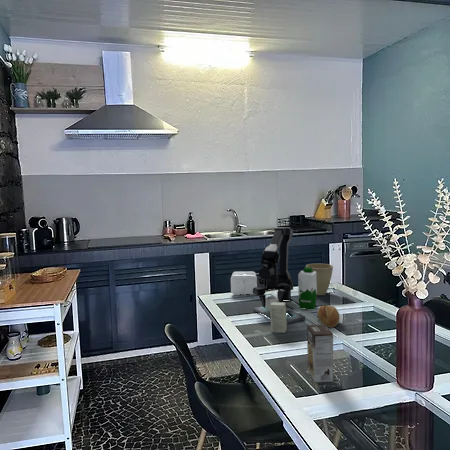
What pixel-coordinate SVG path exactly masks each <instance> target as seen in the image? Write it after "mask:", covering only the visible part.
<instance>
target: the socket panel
mask: <svg viewBox="0 0 450 450" xmlns="http://www.w3.org/2000/svg"><path fill="white" fill-rule="evenodd" d="M253 311H254V312H255V313H257V312H258V313H257V314H259V313H261V314H264V315H266V316H267V317H269V318H270V319H271V315H270V311H268V310H267V309H266V305H265V308H264V307H263V305H262V306H257V307H253ZM286 313H288V314H289V315H290V316H291V317H289V316H286V319H287V324H292V323H296V322H297V323H298V322H302V321H306V316H305V315H302V314H301V313H298V312H296V311H294V310H292V309H290V308H288V307H286ZM261 314H260V315H261ZM270 319H269V320H270Z"/></svg>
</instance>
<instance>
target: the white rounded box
mask: <svg viewBox="0 0 450 450" xmlns="http://www.w3.org/2000/svg"><path fill="white" fill-rule="evenodd" d="M257 279H258V277H257V274H256V272H255V271H233V272H232V274H231V277H230V293H231V294H232V295H235V296H241V295H246V294H250V295H249V296H253V295H255V294H254V293H253V288H254V287H258V285H257ZM240 294H241V295H240Z"/></svg>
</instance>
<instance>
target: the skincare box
mask: <svg viewBox="0 0 450 450" xmlns="http://www.w3.org/2000/svg"><path fill="white" fill-rule="evenodd" d="M286 308H287V303H286V302H279V301H278V302H272V303H271V304H270V315H271V320H270V329H271V331H270V332H272V333H287V330H288V323H287V319H286V318H287V316H286Z"/></svg>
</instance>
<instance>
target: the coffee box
mask: <svg viewBox="0 0 450 450" xmlns="http://www.w3.org/2000/svg"><path fill="white" fill-rule="evenodd" d="M306 336H307V339H306V340H307V341H306V342H307V343H306V344H307V346H306V347H307V371H308V373H309V374H310V376H311V378H312V380H313V382H314V383H327V382H329V383H330V382H334V333H333V332H332V331H331V330H330V328H329V327H327V326H326V325H325V324H322V323H321V324H318V323H316V324H306Z"/></svg>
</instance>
